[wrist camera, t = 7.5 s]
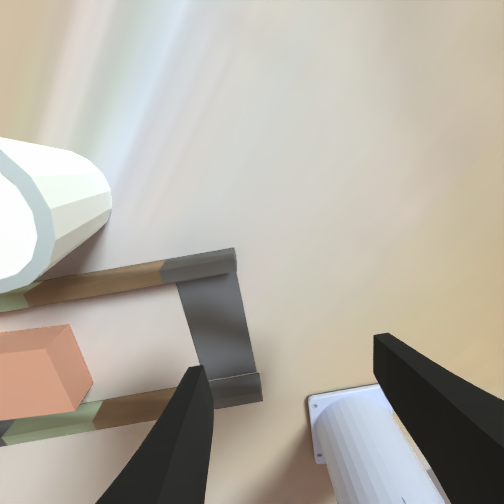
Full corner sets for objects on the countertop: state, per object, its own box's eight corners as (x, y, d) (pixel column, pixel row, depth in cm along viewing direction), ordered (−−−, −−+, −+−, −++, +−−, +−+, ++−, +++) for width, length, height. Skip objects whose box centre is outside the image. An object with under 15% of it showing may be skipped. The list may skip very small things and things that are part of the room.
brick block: (95, 379, 23) (75, 411, 20) (14, 389, 22) (-18, 422, 20) (71, 322, 20) (45, 348, 18) (-19, 332, 20) (-59, 361, 17)
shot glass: (91, 263, 19) (13, 321, 12) (-8, 203, 17) (-164, 234, 10) (142, 186, 17) (83, 205, 10) (38, 112, 15) (-112, 77, 9)
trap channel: (260, 381, 23) (262, 400, 21) (-57, 436, 23) (-82, 461, 21) (234, 247, 19) (233, 257, 17) (-160, 315, 19) (-204, 333, 17)
